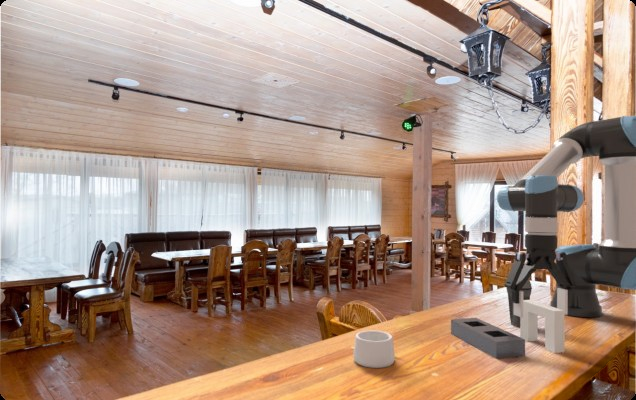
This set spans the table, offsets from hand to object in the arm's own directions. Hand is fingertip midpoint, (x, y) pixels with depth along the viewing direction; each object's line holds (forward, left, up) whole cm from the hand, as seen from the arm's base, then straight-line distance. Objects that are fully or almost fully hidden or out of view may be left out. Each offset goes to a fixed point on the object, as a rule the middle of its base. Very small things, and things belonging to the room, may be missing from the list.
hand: (540, 314), depth 109 cm
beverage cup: (-7, -17, -8) cm, 20 cm away
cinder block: (+14, -4, -8) cm, 16 cm away
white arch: (0, 0, -8) cm, 8 cm away
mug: (+46, 0, -8) cm, 46 cm away
